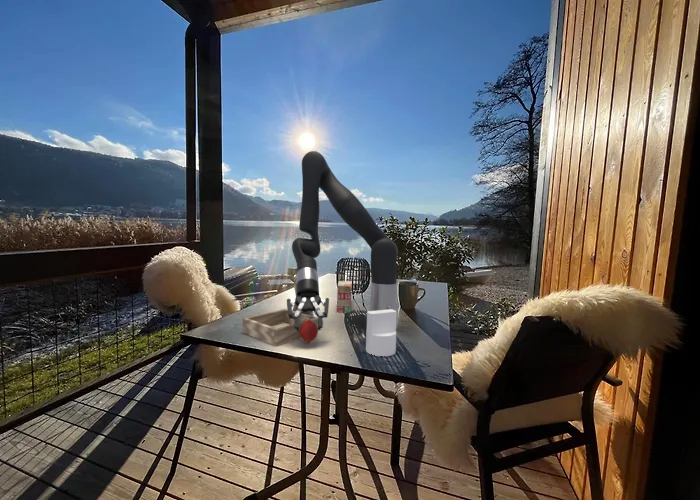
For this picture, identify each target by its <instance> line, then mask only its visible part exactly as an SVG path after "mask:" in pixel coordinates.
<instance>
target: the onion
mask: <svg viewBox="0 0 700 500" xmlns="http://www.w3.org/2000/svg"><path fill="white" fill-rule="evenodd" d="M305 320H306V321H305V322H304V323H302V325H301V326H300V329H299V335H300V337H301V338H300V339H301V340H303V341H304V342H306V344H311V343H312V342H313V341H314V340H316V338H317V337H318V334H319V330H318V328H317V326H316V324H315V323H314V322H312V321H311V320H310V319H308V318H306V319H305Z"/></svg>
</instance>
